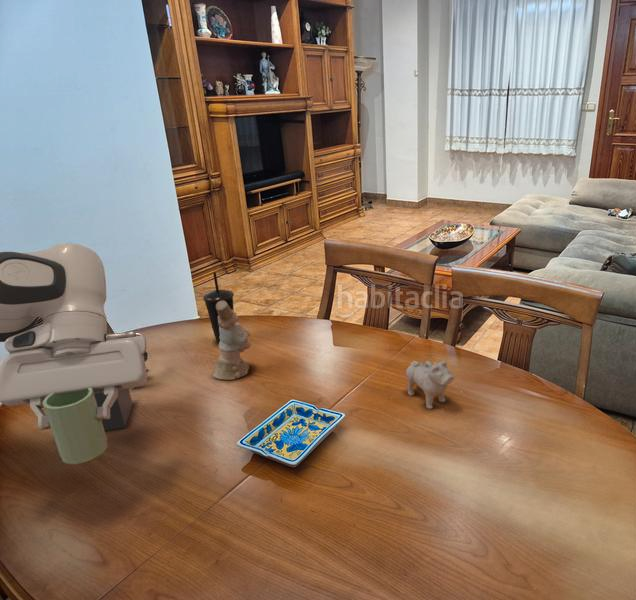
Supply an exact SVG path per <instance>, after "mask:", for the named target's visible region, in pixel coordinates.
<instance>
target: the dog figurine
mask: <svg viewBox="0 0 636 600" xmlns="http://www.w3.org/2000/svg"><path fill="white" fill-rule="evenodd" d="M405 377H406V379H407V380H406V381H407V395H409V396H414V395H415V394H416V393H415V392H414V390H413V388H414V386H415V385H417V386H418V387H419V388H420V389H421V390H422V392H423V394H424V395H425V404H426V405H425V406H426V407H425V408H427V409H429V410H430V409H433V408H434V406H433V401H434V397H435V396H438V398H437V399H438V401H439V402H441V403H444V402H446V398H445V391H446V390H447V388H448V386H449V384H452V383H453V381H454V380H455V376H454V375H453V374H452V373H451V370H450V369H449V368H448V366H447V361H446V360H443V361H442V360H441V361H440V362H435V363H434V364H433V363H432V361H430V360H426V361H424V363H423V362H419V361H418V360H412V361H411V363H410V365H409V366H408V367H407V369H406V371H405Z"/></svg>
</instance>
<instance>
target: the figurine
mask: <svg viewBox="0 0 636 600" xmlns="http://www.w3.org/2000/svg"><path fill="white" fill-rule="evenodd" d="M216 310H217V312H218V315H219V316H218V317H217V318H218V323H219V324H218V326H220V327H219V334H220V336H219V338H220V342H219V345H217V346H218V349H219V351H220V355H219V356H218V357H217V358H216V364H215V369H214V371H213V373H212V376H213V377H214V378H216V379H218V380H227V381H228V380H236V379H240V378H241V377H244V376H246V375H247V374H248V373H249V369H250V365H249V364H248V362H247V361H245V360H244V359H243V358H242V357H241V353H243V352H244V351H246V350H248V349H249V348H251V342H250V341H248V338H249V337H250V336H251V333H250V331H248V330H247V329H246V328H245V327H244V326H243V325H242V324H241V323H240V322H239V320H240V317H239V315H237V313H236V312H235V311H234V312H233V310H232V309H231V308H230V307H229V305H228V304H227V302H226V301H219V302H218V303H217V304H216Z"/></svg>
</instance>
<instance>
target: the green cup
mask: <svg viewBox="0 0 636 600" xmlns="http://www.w3.org/2000/svg"><path fill="white" fill-rule="evenodd" d="M42 403H43V406H44V408H43V409H44V413H45V414H46V415H47V418H48V421H49V424H50V427H51V430H50V431H51V433H52V436H53V439H54V442H55V445H56V448H57V451H58V454H59V456H60V459H61V461H62V462H63V463H65V464H68V465H77V464H79V465H80V464H82V463H87V462H90V461H91V460H94V459H96V458H97V457H99V456H100V455H102V454H103V453H104V452H105V451H106V450H107V448H108V445H109V443H108V438H107V434H106V431H104V427H103V424H102V420H98V419H97V418H96V414H97V412H96V407H98V406H97V403H96V399H95V396H94V392H93V389H92V387H90V388H87V390H84V391H77V392H71V393H64V394H55V393H51V394H49V395H48V396H47V397H45V399H44V400H43V402H42Z"/></svg>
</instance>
